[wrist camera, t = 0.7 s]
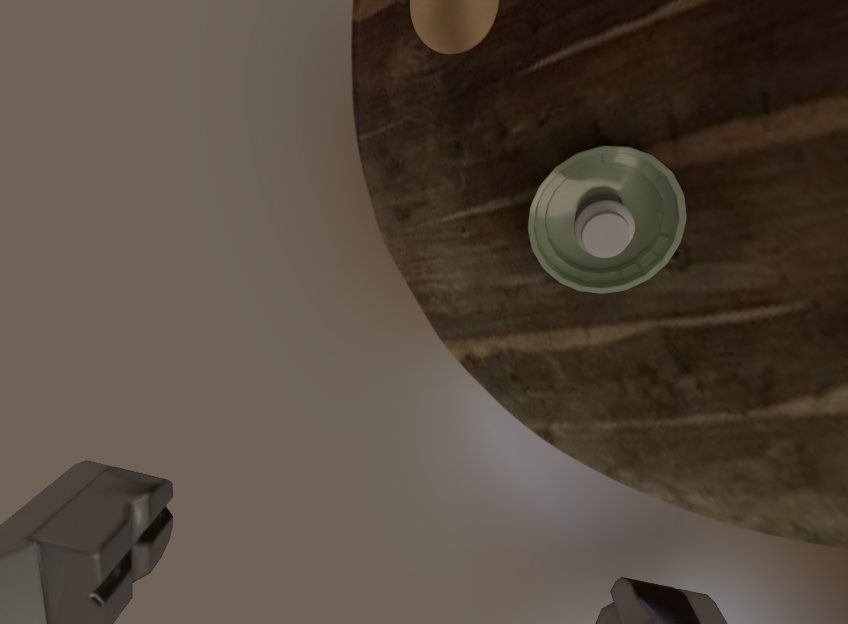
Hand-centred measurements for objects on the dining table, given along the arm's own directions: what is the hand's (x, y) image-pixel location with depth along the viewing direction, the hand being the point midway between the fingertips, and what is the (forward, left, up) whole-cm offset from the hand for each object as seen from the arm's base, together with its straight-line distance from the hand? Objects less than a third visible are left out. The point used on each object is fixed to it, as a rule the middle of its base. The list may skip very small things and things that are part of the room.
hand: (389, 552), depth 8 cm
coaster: (+5, -21, -46) cm, 50 cm away
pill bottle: (-5, +3, -45) cm, 46 cm away
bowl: (-5, +3, -46) cm, 46 cm away
